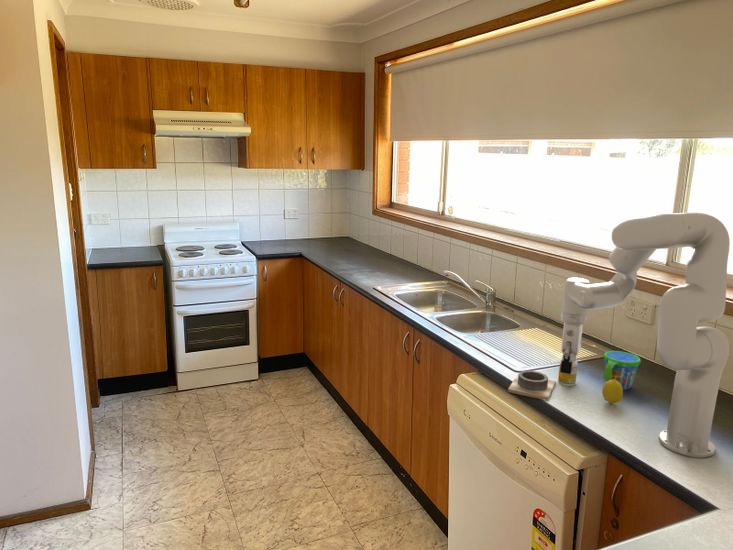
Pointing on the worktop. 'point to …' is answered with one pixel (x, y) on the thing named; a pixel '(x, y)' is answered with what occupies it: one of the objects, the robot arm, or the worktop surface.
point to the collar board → (532, 385)
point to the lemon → (612, 391)
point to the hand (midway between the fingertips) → (567, 367)
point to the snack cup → (621, 367)
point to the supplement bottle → (569, 378)
